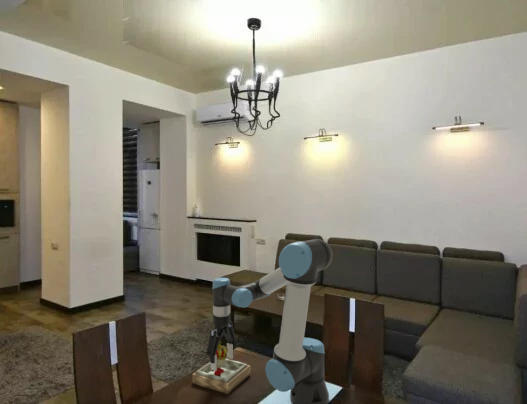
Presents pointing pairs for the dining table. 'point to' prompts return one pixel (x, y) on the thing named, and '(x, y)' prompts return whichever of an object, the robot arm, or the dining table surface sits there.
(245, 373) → the square wooden tray
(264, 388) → the dining table surface
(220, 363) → the toy
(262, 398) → the dining table surface
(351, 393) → the dining table surface
